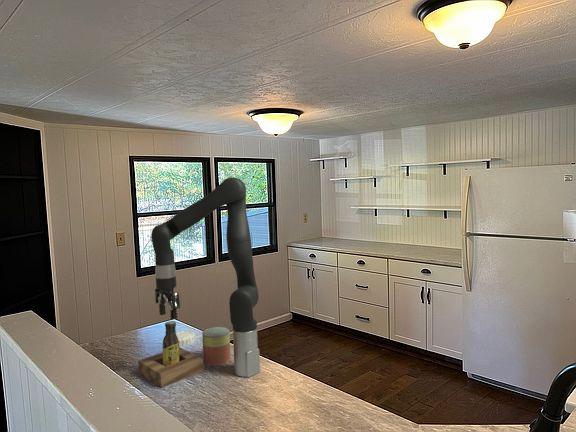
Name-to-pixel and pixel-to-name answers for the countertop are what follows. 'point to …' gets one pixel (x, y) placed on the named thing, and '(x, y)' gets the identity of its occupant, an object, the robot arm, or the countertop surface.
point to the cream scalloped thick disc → (185, 338)
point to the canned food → (216, 346)
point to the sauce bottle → (170, 345)
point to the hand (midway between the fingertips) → (168, 316)
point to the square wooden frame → (170, 368)
